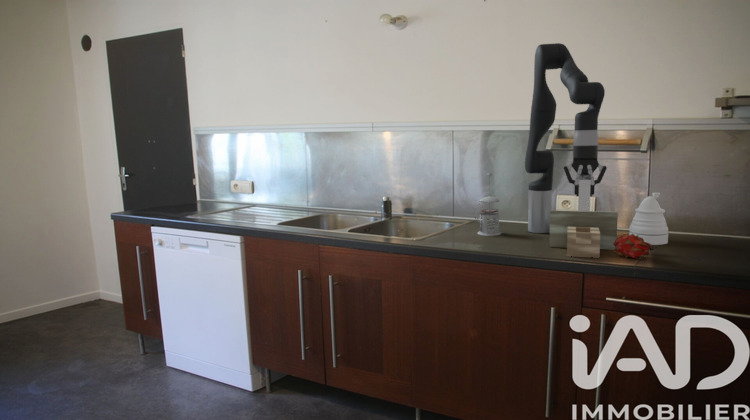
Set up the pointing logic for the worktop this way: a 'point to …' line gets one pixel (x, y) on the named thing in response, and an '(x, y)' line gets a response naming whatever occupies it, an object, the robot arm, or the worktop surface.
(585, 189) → the brushed steel bar
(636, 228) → the honey pot
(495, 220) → the french press
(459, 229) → the worktop surface
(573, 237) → the small shelf
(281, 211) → the worktop surface
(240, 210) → the worktop surface
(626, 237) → the dragon fruit
